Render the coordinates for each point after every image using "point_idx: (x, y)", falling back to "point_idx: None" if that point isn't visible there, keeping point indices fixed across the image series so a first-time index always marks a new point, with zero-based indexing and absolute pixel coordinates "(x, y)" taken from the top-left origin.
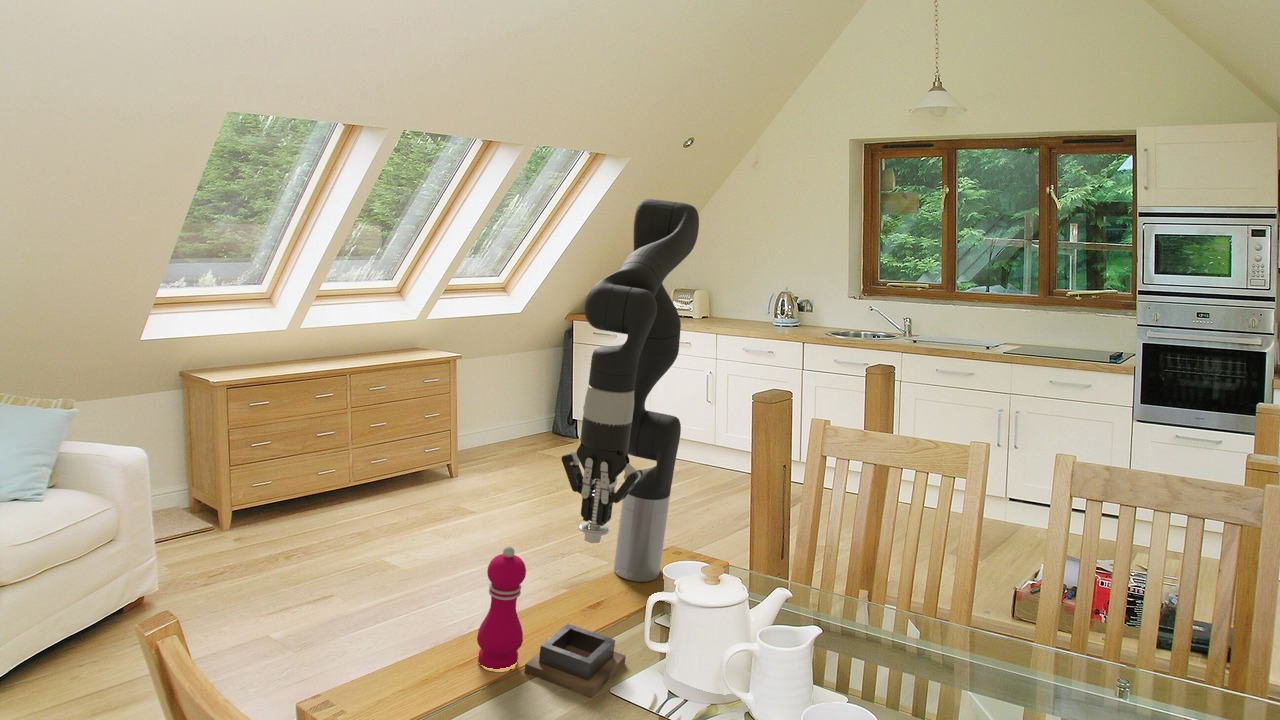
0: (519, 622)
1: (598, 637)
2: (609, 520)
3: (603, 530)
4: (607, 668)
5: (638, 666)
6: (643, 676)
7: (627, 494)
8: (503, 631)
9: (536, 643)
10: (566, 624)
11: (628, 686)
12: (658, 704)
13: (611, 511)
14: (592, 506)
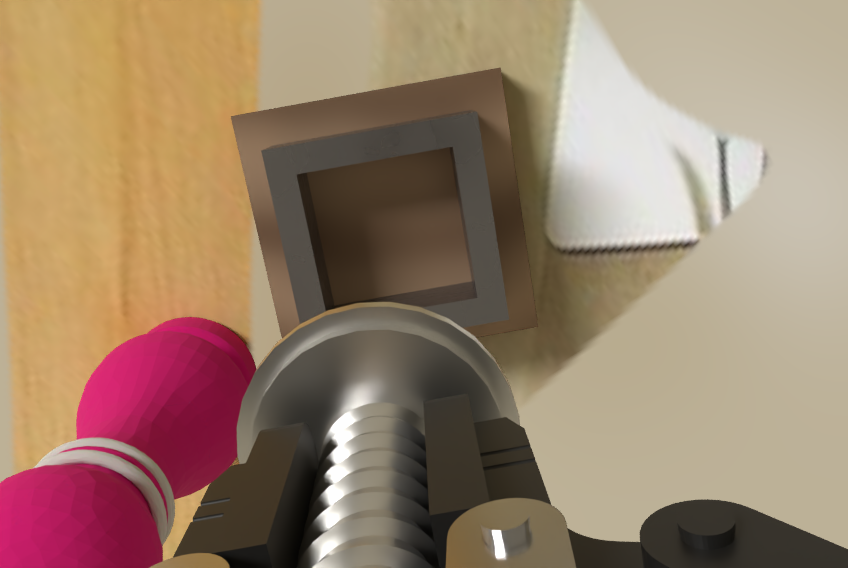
0: (197, 396)
1: (417, 147)
2: (508, 421)
3: None
4: (502, 191)
5: (541, 44)
6: (590, 87)
7: (824, 547)
8: (205, 480)
9: (189, 192)
10: (263, 160)
11: (584, 179)
12: (713, 194)
13: (536, 469)
14: None
